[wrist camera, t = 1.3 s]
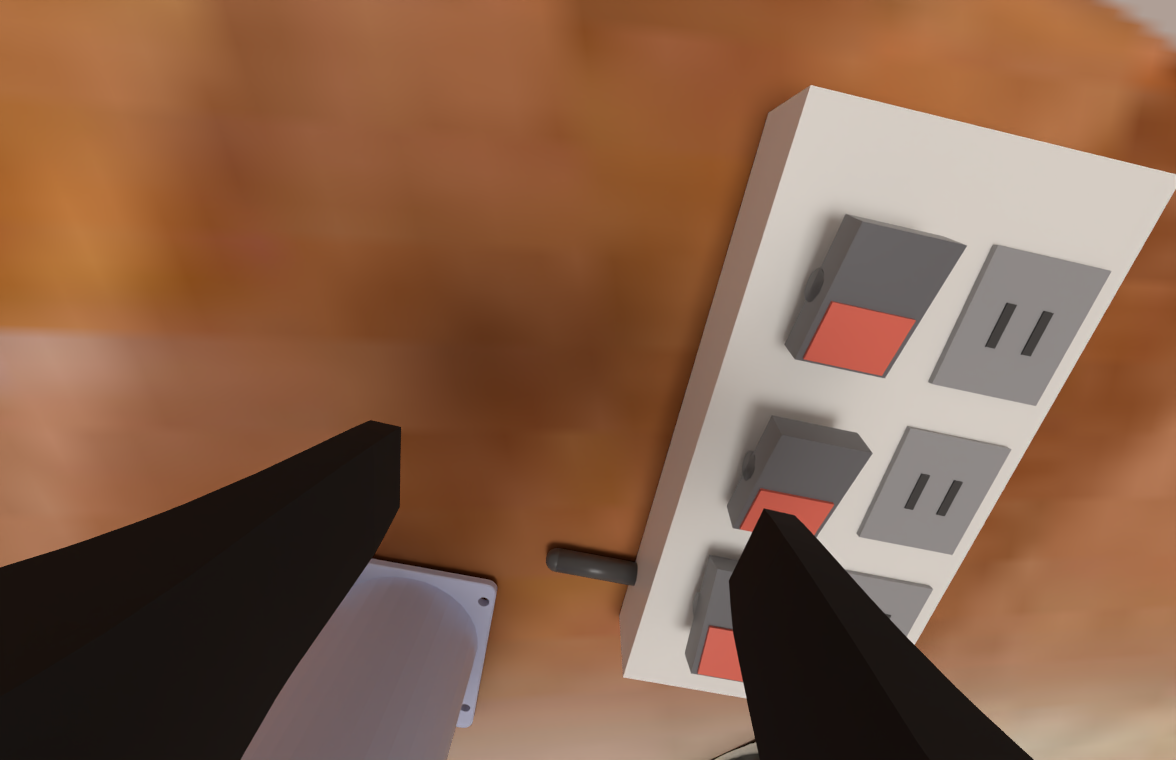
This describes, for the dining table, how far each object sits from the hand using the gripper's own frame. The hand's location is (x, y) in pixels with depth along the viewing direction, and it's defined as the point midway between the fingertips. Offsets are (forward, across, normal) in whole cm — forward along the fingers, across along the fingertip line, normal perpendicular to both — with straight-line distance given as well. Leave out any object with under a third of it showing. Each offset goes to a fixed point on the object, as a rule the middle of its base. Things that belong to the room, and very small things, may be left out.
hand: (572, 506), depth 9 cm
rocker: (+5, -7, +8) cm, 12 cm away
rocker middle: (+6, -7, +2) cm, 9 cm away
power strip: (+10, -7, +2) cm, 12 cm away
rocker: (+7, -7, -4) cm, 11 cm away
